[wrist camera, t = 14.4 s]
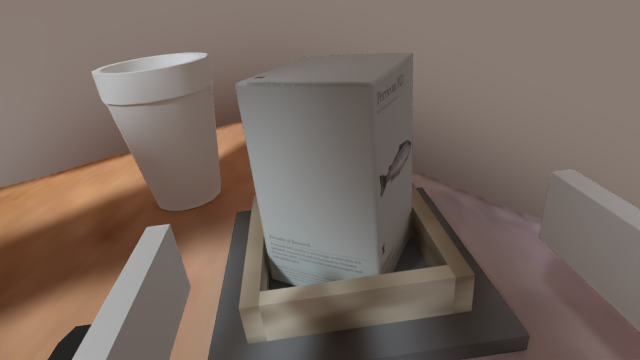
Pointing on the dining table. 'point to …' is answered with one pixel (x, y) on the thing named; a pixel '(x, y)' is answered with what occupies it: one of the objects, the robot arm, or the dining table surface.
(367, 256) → the supplement box
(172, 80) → the foam cup
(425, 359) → the keeper cradle
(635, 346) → the dining table surface
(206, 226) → the dining table surface
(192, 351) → the dining table surface
